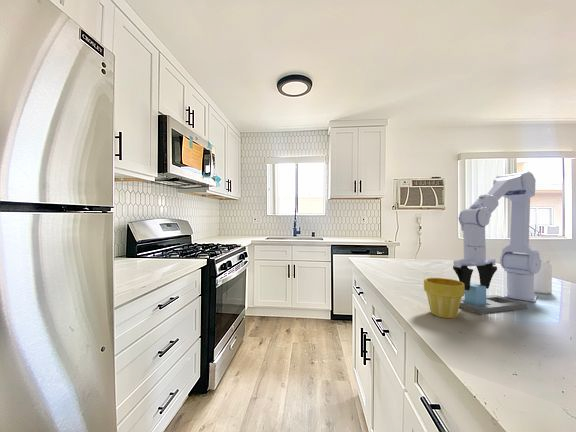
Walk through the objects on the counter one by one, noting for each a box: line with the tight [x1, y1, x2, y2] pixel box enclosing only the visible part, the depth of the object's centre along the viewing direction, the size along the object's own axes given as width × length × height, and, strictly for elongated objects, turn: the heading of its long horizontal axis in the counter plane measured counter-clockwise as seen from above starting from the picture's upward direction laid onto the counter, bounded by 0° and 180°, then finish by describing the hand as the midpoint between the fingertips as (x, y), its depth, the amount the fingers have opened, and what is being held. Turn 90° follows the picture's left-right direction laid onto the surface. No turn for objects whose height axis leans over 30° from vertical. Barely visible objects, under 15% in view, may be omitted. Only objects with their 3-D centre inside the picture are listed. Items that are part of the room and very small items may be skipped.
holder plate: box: [459, 294, 528, 315], centre depth 84 cm, size 10×19×2 cm, turn 104°
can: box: [534, 259, 553, 295], centre depth 100 cm, size 6×6×12 cm
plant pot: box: [423, 277, 465, 319], centre depth 77 cm, size 10×10×10 cm
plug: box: [464, 283, 487, 306], centre depth 83 cm, size 4×4×7 cm
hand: (475, 288), depth 83 cm, fingers open, 7 cm apart
